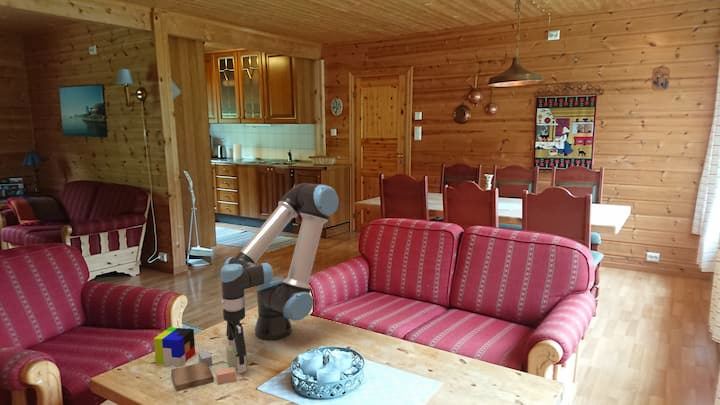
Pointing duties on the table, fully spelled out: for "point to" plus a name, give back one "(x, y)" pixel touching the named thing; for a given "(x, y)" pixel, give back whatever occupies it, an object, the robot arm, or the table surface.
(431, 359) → the table surface
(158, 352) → the puzzle toy
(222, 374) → the terracotta brick
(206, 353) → the grey brick
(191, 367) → the walnut slab
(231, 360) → the sage brick
